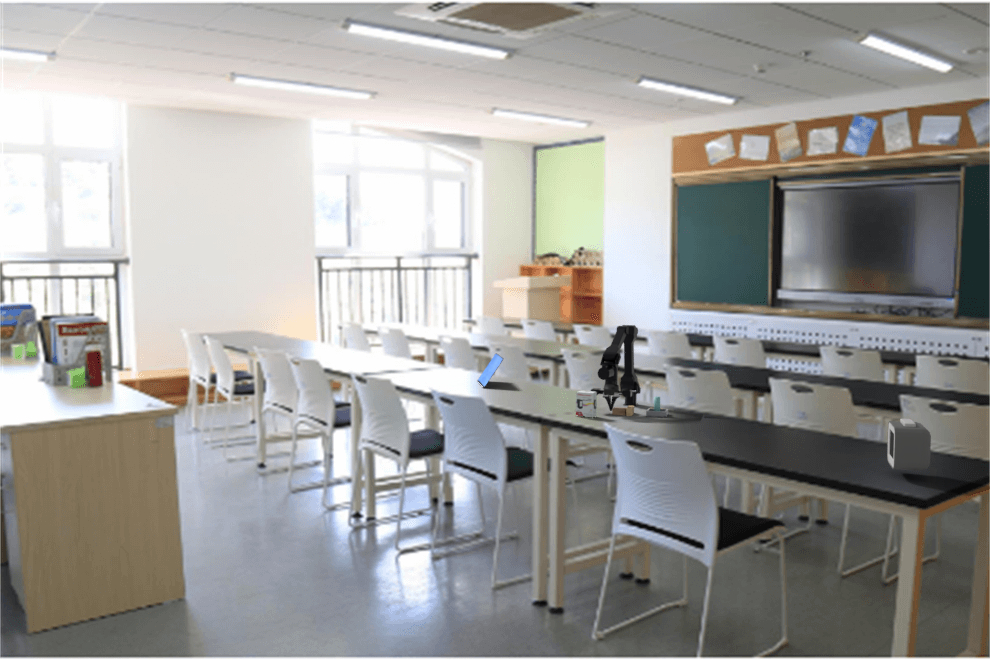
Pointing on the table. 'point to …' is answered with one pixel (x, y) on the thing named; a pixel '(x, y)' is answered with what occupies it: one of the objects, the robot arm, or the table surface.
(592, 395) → the ink box
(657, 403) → the dowel
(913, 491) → the table surface
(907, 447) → the alarm clock
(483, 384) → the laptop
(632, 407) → the block
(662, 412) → the tray
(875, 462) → the table surface
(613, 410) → the walnut block
